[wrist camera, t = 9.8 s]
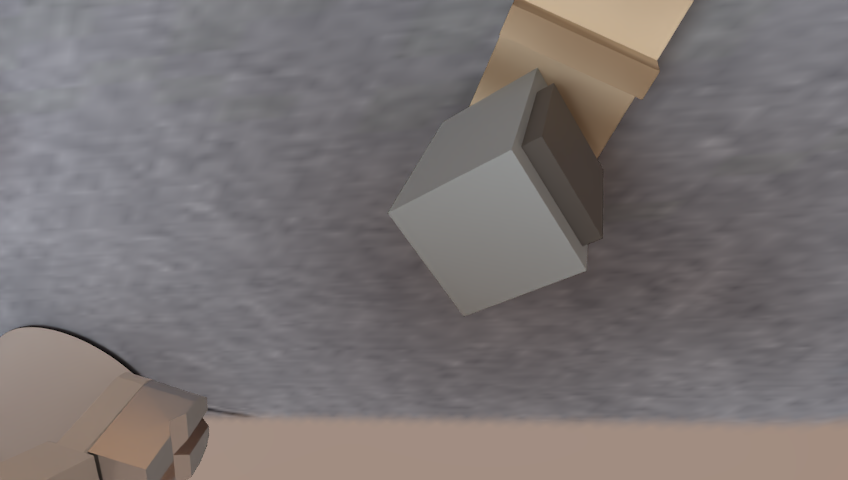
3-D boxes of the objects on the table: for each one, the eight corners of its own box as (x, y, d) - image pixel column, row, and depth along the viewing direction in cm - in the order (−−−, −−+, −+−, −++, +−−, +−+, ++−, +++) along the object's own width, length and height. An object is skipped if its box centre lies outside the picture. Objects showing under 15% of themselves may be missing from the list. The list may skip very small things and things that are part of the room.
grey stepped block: (497, 205, 24) (463, 317, 18) (442, 121, 22) (387, 212, 17) (607, 154, 22) (607, 262, 16) (553, 58, 20) (533, 138, 15)
